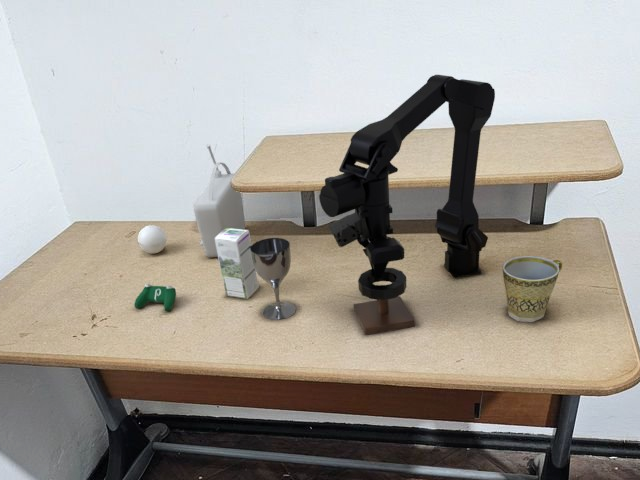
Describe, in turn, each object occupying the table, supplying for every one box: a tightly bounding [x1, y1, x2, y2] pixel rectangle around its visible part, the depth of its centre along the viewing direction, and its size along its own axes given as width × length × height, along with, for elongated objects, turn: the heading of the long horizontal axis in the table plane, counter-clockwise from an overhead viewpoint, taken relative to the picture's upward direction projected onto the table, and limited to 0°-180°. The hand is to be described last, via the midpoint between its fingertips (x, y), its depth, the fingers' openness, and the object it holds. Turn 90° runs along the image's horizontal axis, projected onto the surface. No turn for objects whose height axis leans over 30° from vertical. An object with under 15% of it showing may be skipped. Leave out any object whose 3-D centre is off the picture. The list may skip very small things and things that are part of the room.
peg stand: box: [352, 284, 416, 336], centre depth 125 cm, size 10×10×7 cm
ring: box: [357, 267, 407, 300], centre depth 123 cm, size 9×9×2 cm
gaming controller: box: [134, 283, 177, 312], centre depth 141 cm, size 9×4×6 cm
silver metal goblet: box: [250, 237, 297, 321], centre depth 129 cm, size 8×8×15 cm
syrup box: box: [215, 228, 260, 300], centre depth 138 cm, size 6×6×14 cm
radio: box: [193, 143, 246, 258], centre depth 159 cm, size 22×8×25 cm, turn 172°
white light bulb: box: [127, 224, 168, 254], centre depth 164 cm, size 10×7×7 cm
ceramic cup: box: [502, 255, 563, 323], centre depth 120 cm, size 13×10×10 cm
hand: (377, 275), depth 125 cm, fingers closed on ring, 2 cm apart
